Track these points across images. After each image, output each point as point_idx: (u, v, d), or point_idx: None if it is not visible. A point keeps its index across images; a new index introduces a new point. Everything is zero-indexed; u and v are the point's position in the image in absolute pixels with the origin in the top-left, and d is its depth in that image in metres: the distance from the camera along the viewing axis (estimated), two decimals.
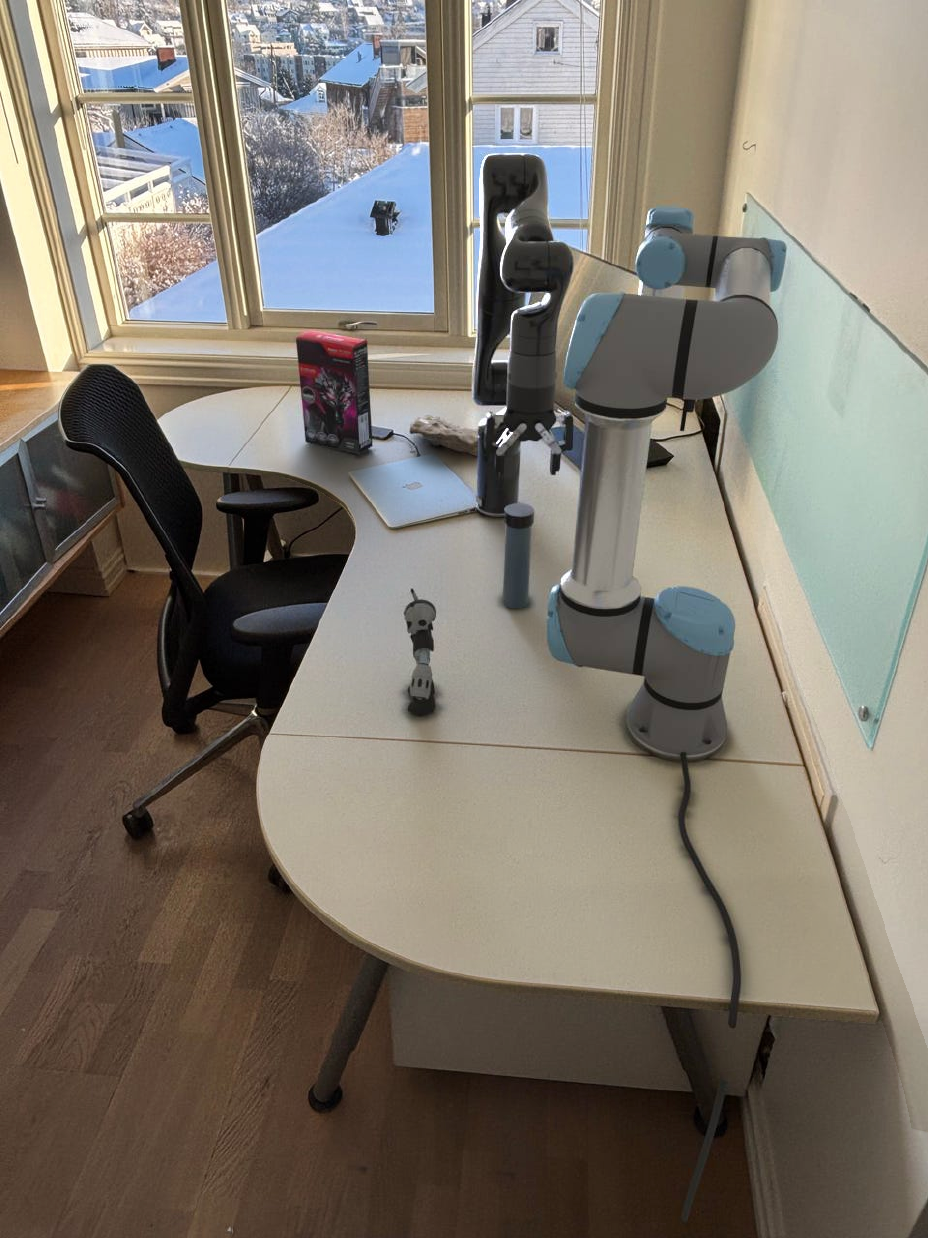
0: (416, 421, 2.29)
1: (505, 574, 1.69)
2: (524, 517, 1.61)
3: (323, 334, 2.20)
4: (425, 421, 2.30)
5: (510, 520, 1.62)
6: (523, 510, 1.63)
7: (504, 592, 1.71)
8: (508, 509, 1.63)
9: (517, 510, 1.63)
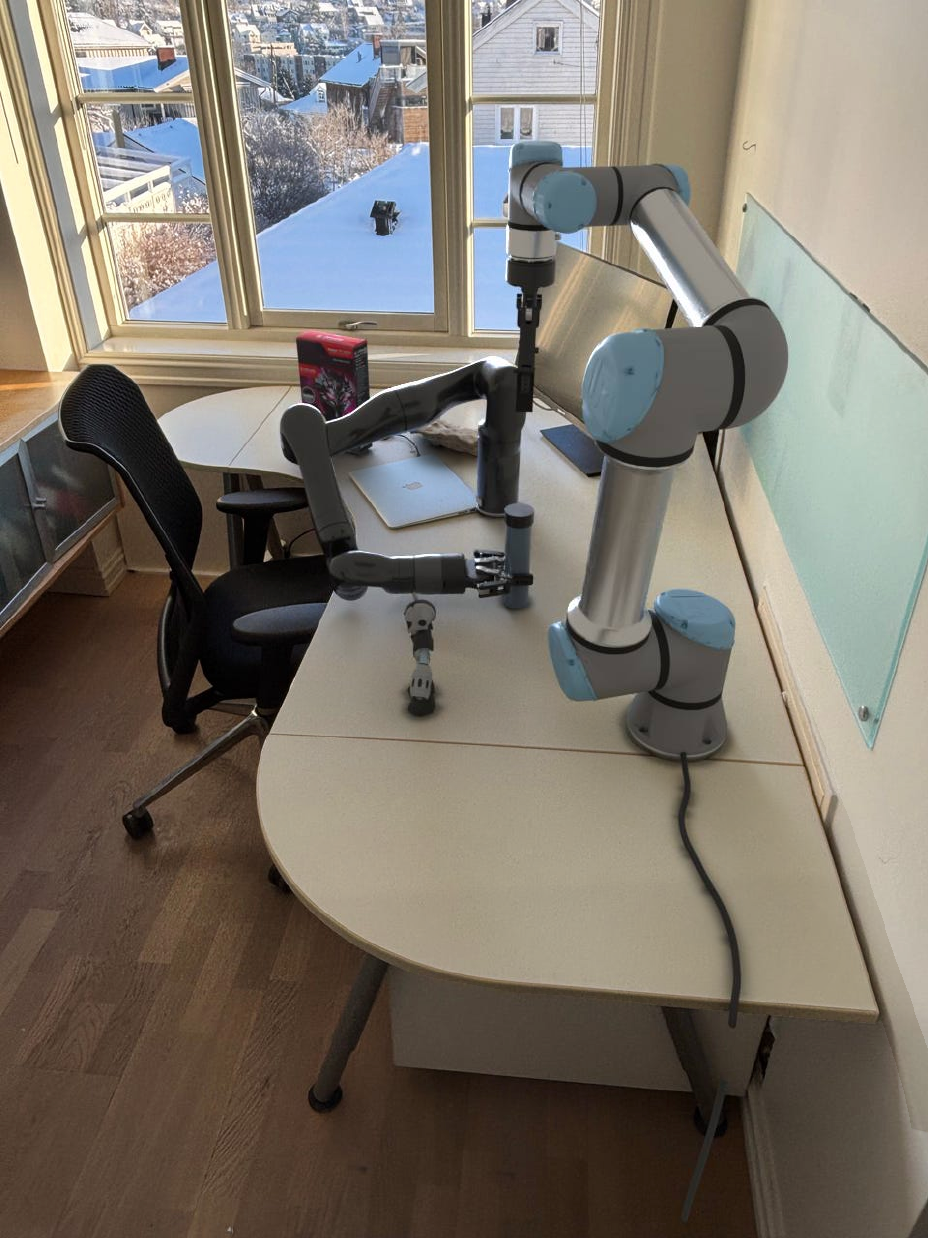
0: None
1: None
2: (524, 517, 1.61)
3: (323, 334, 2.20)
4: None
5: (510, 520, 1.62)
6: (523, 510, 1.63)
7: None
8: (508, 509, 1.63)
9: (517, 510, 1.63)
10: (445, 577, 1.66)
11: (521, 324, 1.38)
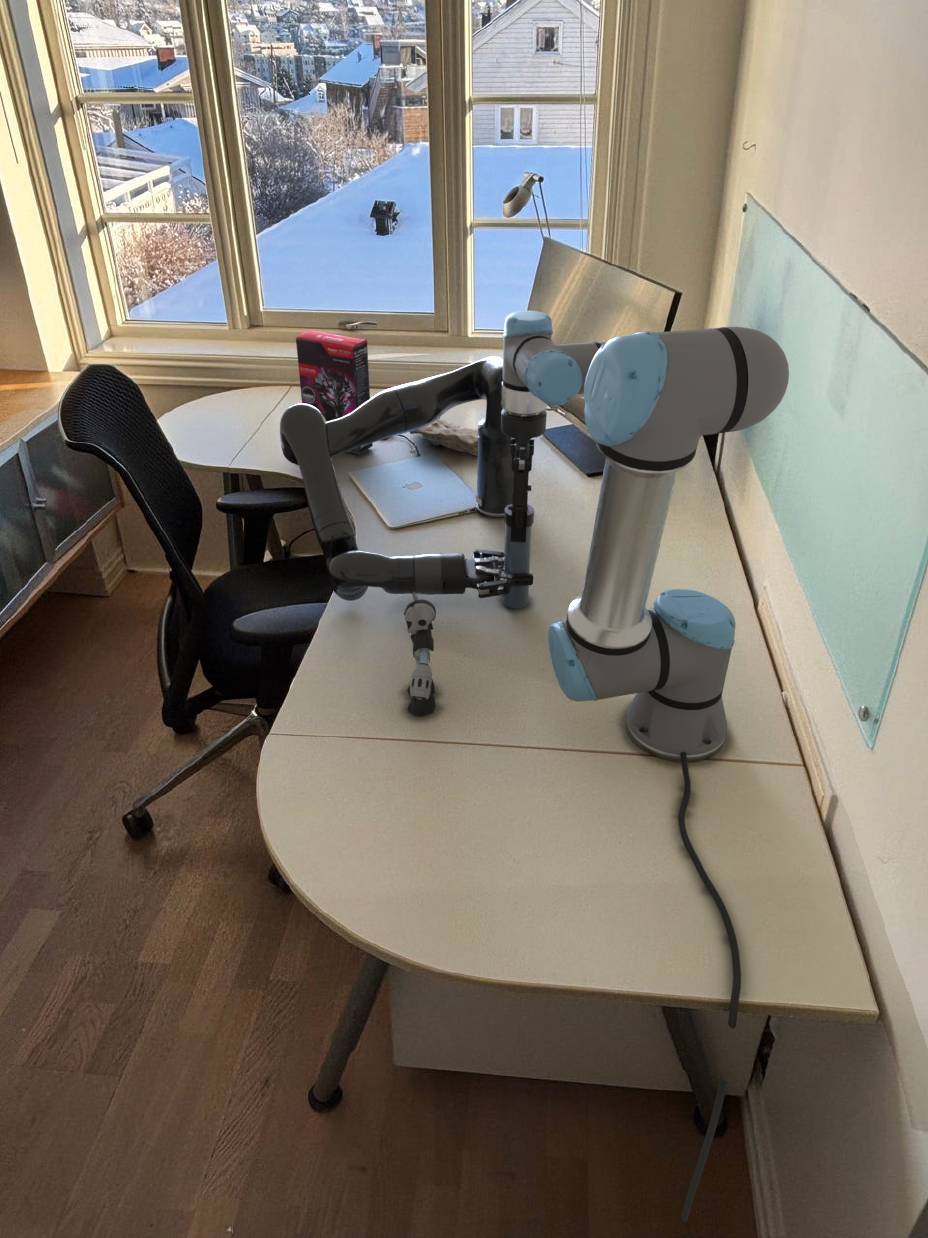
0: None
1: None
2: None
3: (323, 334, 2.20)
4: None
5: (510, 520, 1.62)
6: None
7: None
8: None
9: None
10: (445, 577, 1.66)
11: (515, 473, 1.52)
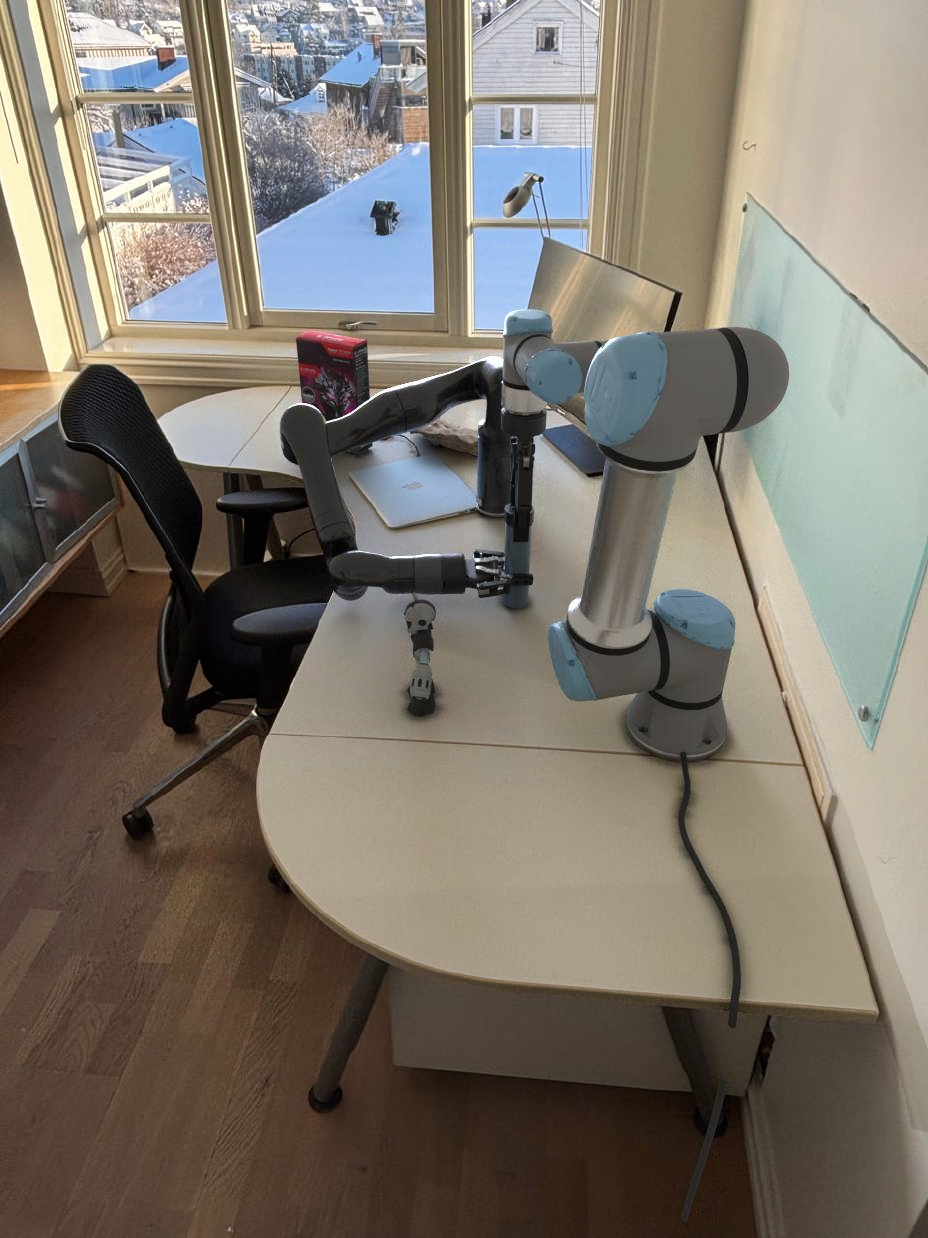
0: None
1: None
2: None
3: (323, 334, 2.20)
4: None
5: (531, 518, 1.62)
6: None
7: None
8: None
9: None
10: (445, 577, 1.66)
11: (519, 470, 1.52)
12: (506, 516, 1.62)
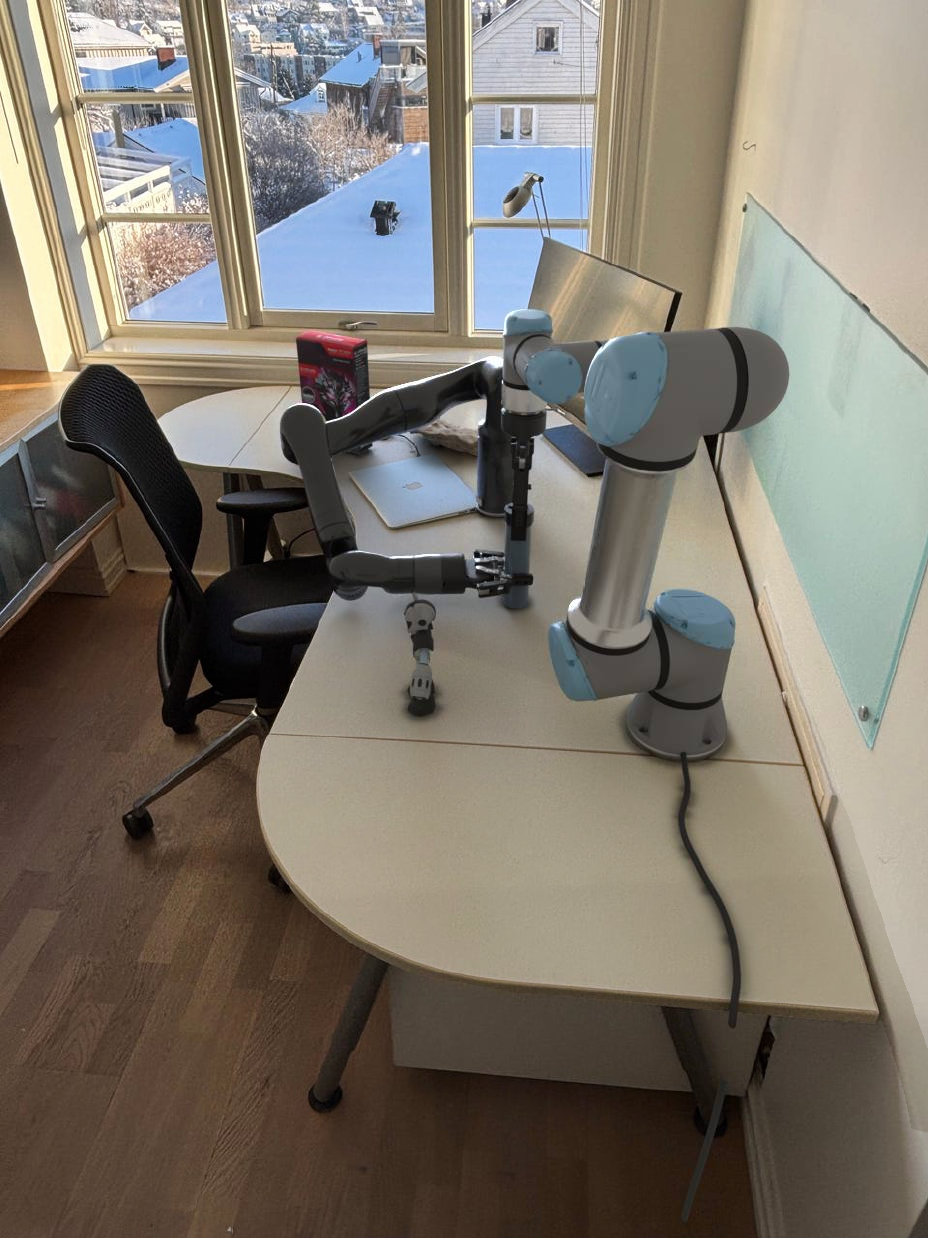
0: None
1: None
2: None
3: (323, 334, 2.20)
4: None
5: (531, 518, 1.62)
6: None
7: None
8: None
9: None
10: (445, 577, 1.66)
11: (515, 471, 1.52)
12: (506, 516, 1.62)
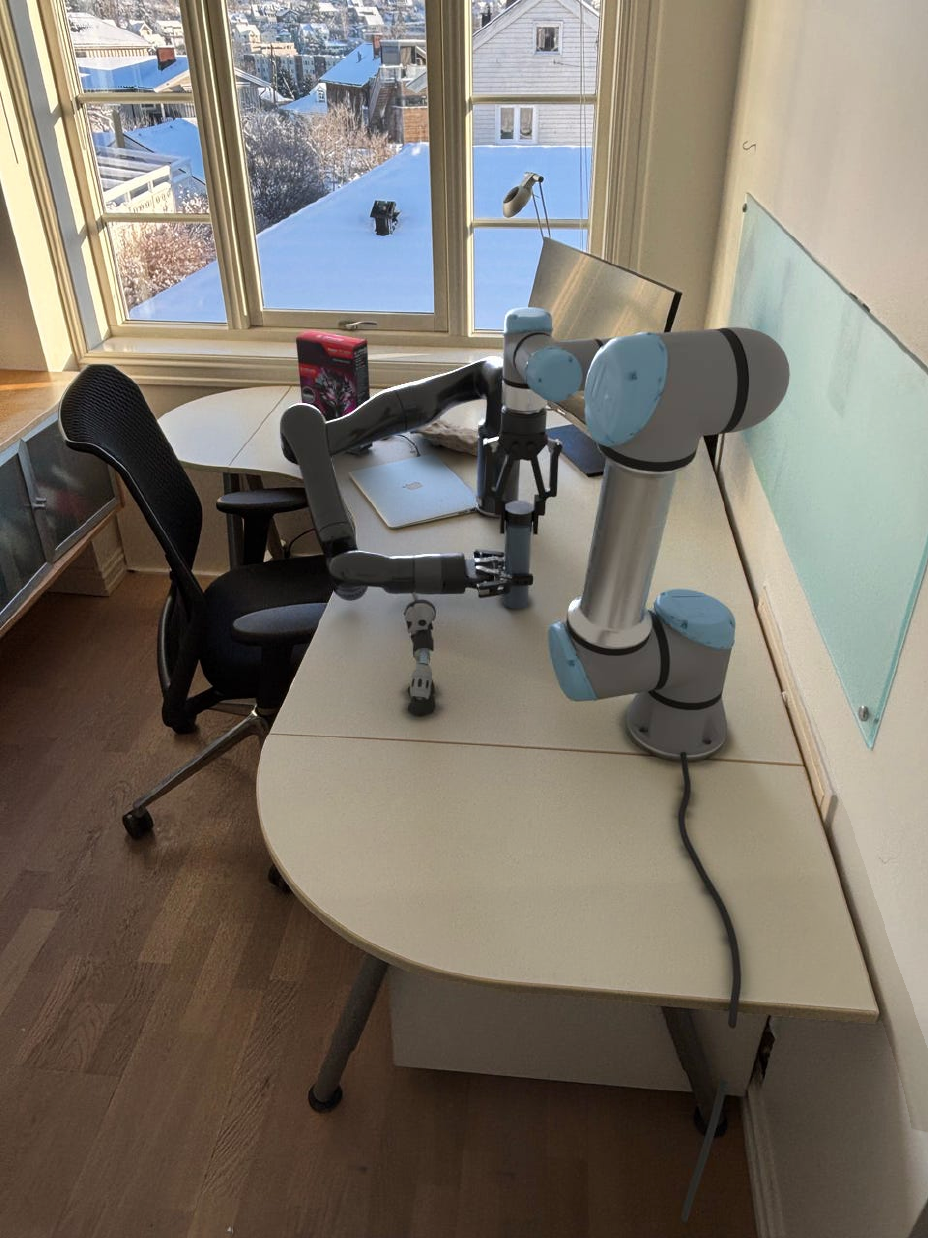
0: None
1: None
2: None
3: (323, 334, 2.20)
4: None
5: None
6: (515, 506, 1.63)
7: None
8: (530, 507, 1.63)
9: (521, 506, 1.63)
10: (445, 577, 1.66)
11: None
12: (527, 518, 1.61)
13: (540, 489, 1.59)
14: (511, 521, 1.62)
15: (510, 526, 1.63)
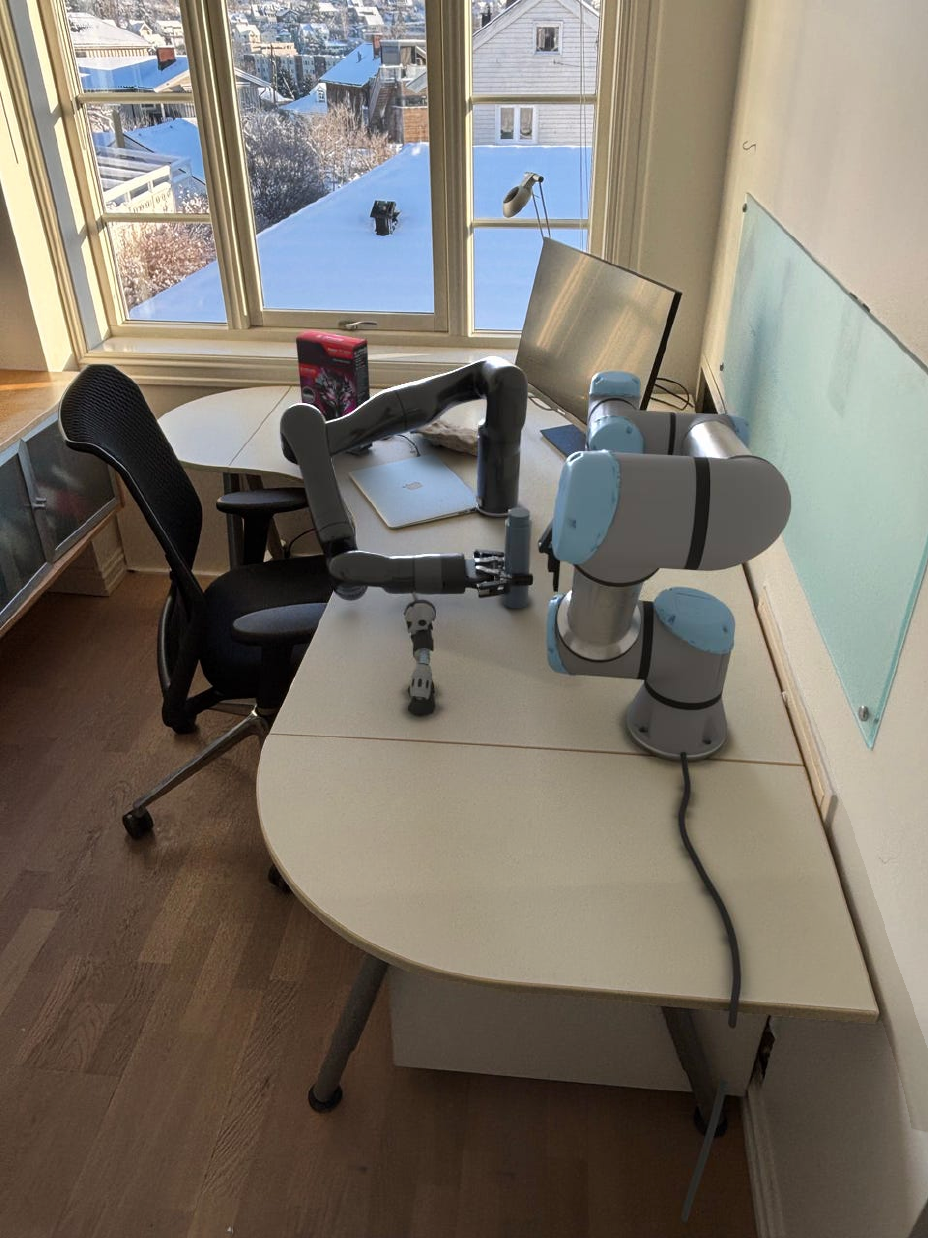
0: None
1: None
2: None
3: (323, 334, 2.20)
4: None
5: None
6: None
7: None
8: None
9: None
10: (445, 577, 1.66)
11: None
12: None
13: None
14: None
15: (510, 526, 1.63)
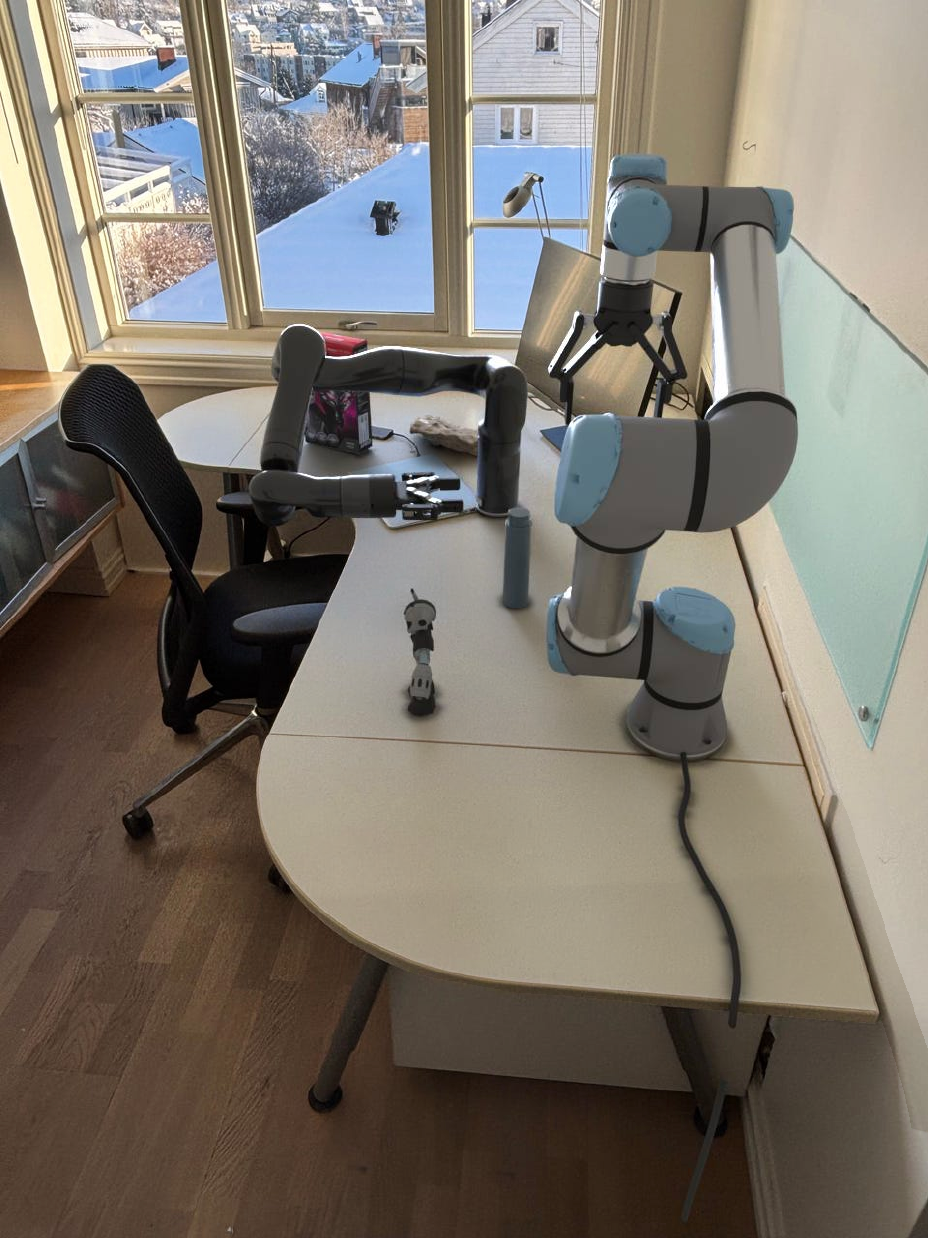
0: (416, 421, 2.29)
1: (505, 574, 1.69)
2: None
3: (323, 334, 2.20)
4: (425, 421, 2.30)
5: None
6: None
7: (504, 592, 1.71)
8: None
9: None
10: (373, 498, 1.56)
11: None
12: None
13: (664, 371, 1.35)
14: None
15: (510, 526, 1.63)
